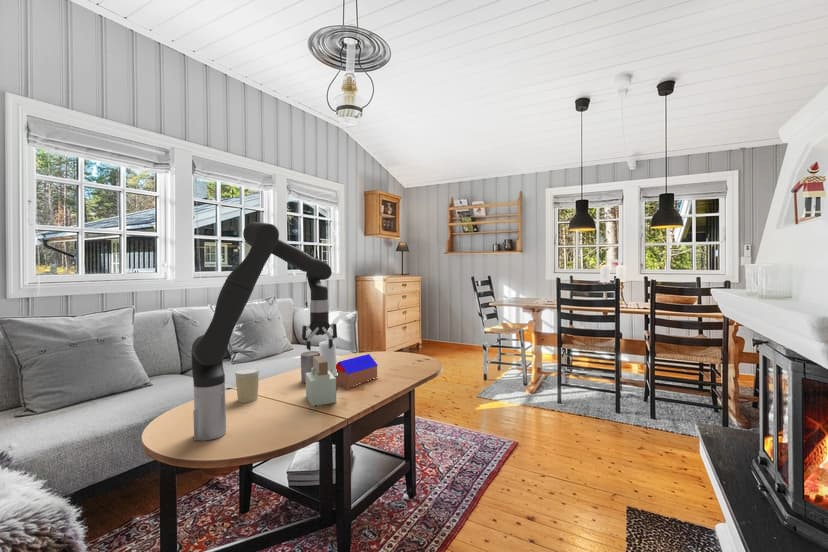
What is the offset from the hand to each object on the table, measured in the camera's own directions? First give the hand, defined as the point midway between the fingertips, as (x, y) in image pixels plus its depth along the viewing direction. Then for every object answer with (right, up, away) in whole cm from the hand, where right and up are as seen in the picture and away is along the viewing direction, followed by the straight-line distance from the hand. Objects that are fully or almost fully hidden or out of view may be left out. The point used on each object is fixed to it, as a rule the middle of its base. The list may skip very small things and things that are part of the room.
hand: (319, 349), depth 165 cm
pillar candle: (-11, -21, +28) cm, 37 cm away
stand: (0, -21, 0) cm, 21 cm away
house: (+11, -21, +27) cm, 36 cm away
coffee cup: (-31, -22, +2) cm, 38 cm away
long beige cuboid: (0, -9, 0) cm, 9 cm away
